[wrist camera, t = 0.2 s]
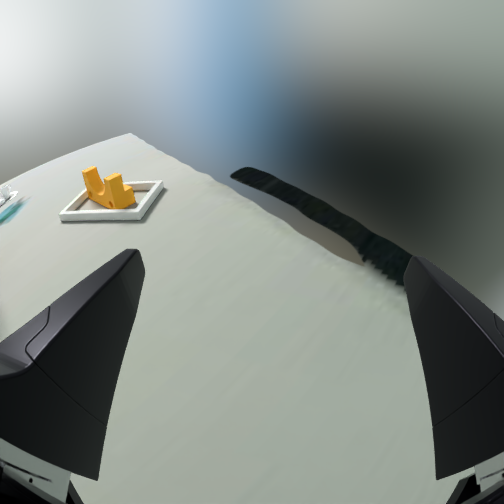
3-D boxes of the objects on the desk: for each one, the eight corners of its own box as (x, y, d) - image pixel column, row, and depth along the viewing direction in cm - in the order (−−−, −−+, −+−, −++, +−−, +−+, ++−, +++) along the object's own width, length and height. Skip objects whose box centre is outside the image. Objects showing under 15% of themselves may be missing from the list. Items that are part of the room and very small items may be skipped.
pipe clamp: (135, 202, 47) (129, 170, 43) (117, 213, 45) (108, 180, 41) (105, 190, 53) (99, 162, 49) (89, 199, 50) (81, 171, 46)
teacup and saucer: (-2, 209, 51) (-6, 197, 49) (-7, 206, 54) (-11, 194, 51) (21, 194, 57) (17, 181, 55) (14, 191, 60) (10, 180, 57)
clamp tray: (140, 220, 42) (138, 211, 41) (61, 221, 43) (58, 214, 42) (163, 187, 52) (162, 180, 51) (90, 191, 52) (89, 185, 52)
